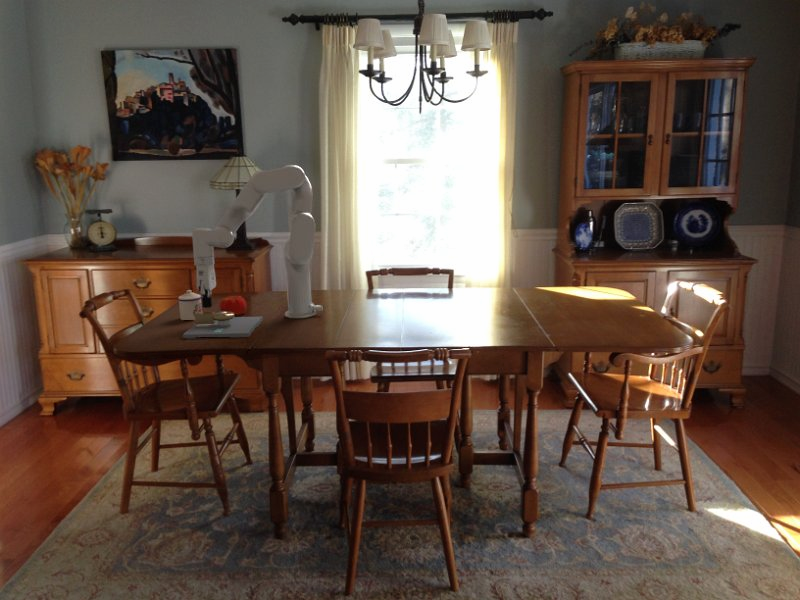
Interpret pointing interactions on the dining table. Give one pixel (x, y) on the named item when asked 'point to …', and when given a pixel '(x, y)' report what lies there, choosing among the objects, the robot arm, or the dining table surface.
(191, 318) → the teacup with lid
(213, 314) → the lock handle
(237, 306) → the tomato
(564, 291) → the dining table surface
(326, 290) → the dining table surface
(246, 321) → the base
